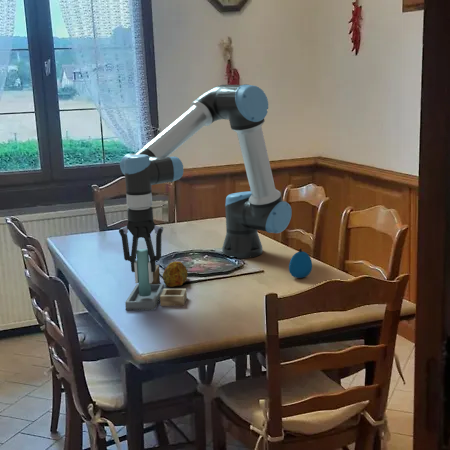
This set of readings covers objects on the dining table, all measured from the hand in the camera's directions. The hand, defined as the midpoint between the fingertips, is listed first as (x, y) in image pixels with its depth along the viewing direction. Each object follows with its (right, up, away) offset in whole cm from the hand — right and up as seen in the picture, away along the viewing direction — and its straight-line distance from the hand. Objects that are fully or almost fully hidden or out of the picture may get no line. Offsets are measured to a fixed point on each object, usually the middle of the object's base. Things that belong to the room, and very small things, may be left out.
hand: (144, 281), depth 212 cm
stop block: (+1, -3, +15) cm, 15 cm away
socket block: (+9, -6, 0) cm, 11 cm away
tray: (0, -6, +1) cm, 6 cm away
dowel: (0, -4, +1) cm, 4 cm away
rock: (+9, -2, +17) cm, 19 cm away
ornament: (+50, 0, +19) cm, 53 cm away
